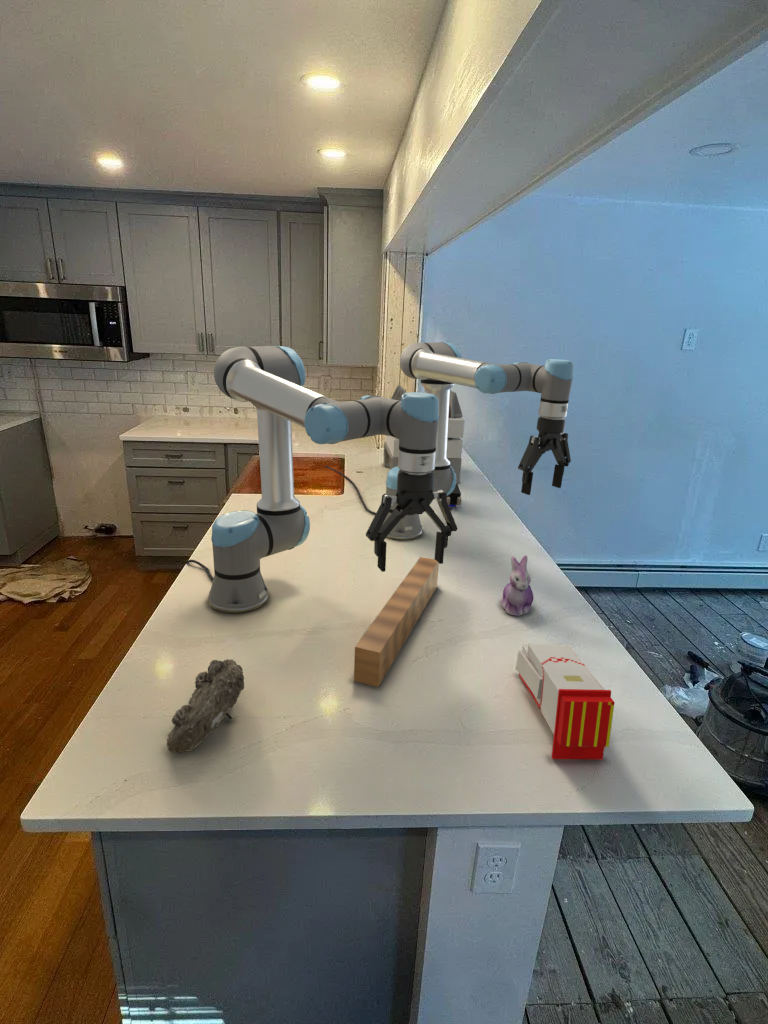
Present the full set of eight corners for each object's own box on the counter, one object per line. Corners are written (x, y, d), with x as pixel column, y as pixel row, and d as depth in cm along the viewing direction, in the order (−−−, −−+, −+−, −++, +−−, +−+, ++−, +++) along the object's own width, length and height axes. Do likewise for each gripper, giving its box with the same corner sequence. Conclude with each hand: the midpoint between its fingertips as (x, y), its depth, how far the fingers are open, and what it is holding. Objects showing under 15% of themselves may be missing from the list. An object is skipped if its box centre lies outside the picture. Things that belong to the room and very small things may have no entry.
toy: (564, 626, 126) (624, 698, 97) (558, 682, 129) (615, 767, 100) (510, 625, 126) (554, 696, 96) (506, 681, 128) (547, 766, 99)
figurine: (515, 620, 147) (523, 568, 141) (491, 602, 155) (497, 552, 150) (543, 613, 151) (551, 562, 146) (518, 596, 159) (525, 547, 154)
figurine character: (461, 514, 225) (456, 498, 239) (463, 497, 222) (458, 482, 235) (444, 513, 225) (440, 498, 239) (446, 496, 222) (442, 481, 235)
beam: (418, 583, 165) (420, 556, 162) (437, 586, 163) (439, 560, 160) (353, 680, 120) (354, 646, 118) (378, 687, 119) (379, 652, 116)
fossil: (192, 660, 117) (244, 628, 112) (224, 691, 120) (276, 661, 115) (142, 746, 98) (202, 712, 93) (182, 779, 101) (242, 748, 96)
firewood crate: (382, 463, 289) (386, 382, 275) (445, 464, 293) (451, 384, 279) (390, 482, 257) (394, 392, 243) (460, 483, 261) (468, 394, 247)
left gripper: (364, 479, 108) (362, 580, 115) (478, 471, 117) (469, 565, 124) (352, 469, 114) (350, 565, 122) (461, 462, 123) (453, 551, 130)
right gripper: (532, 423, 147) (522, 500, 155) (590, 416, 161) (578, 487, 169) (511, 418, 153) (501, 492, 160) (569, 411, 167) (558, 480, 174)
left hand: (410, 565), depth 123 cm, fingers open, 13 cm apart
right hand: (541, 490), depth 164 cm, fingers open, 13 cm apart
